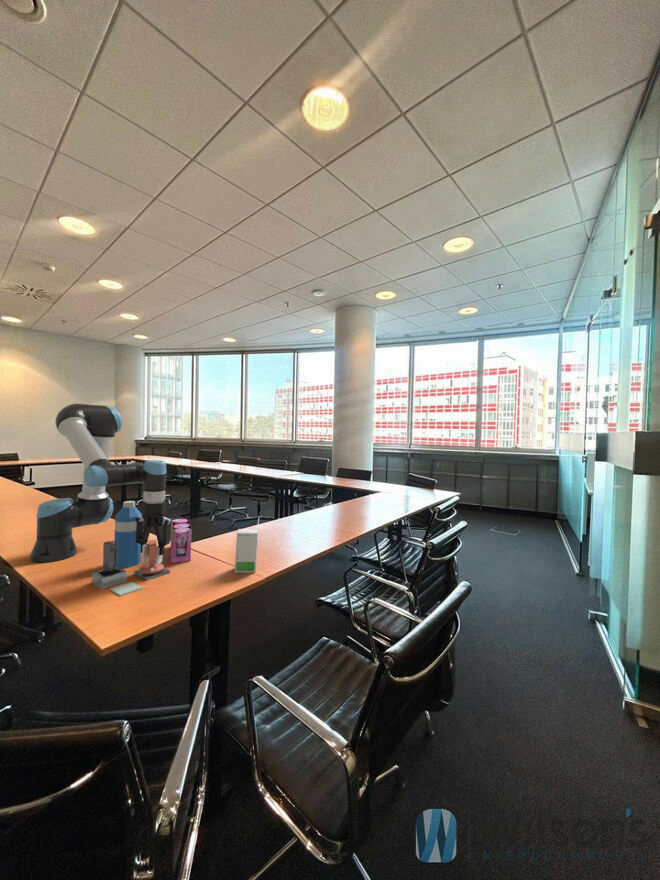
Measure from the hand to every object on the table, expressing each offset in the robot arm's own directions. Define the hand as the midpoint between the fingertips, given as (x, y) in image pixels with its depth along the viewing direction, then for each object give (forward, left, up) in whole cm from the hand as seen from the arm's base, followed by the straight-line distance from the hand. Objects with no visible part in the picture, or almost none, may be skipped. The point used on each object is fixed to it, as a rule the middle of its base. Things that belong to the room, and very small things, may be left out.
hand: (152, 562), depth 130 cm
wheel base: (+1, 0, -4) cm, 4 cm away
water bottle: (-16, -1, -4) cm, 17 cm away
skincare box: (+25, +25, -4) cm, 35 cm away
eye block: (-3, -13, -4) cm, 14 cm away
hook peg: (-3, -13, -4) cm, 14 cm away
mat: (+7, -12, -4) cm, 15 cm away
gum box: (-11, +19, -4) cm, 22 cm away
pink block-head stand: (+1, 0, -3) cm, 3 cm away
